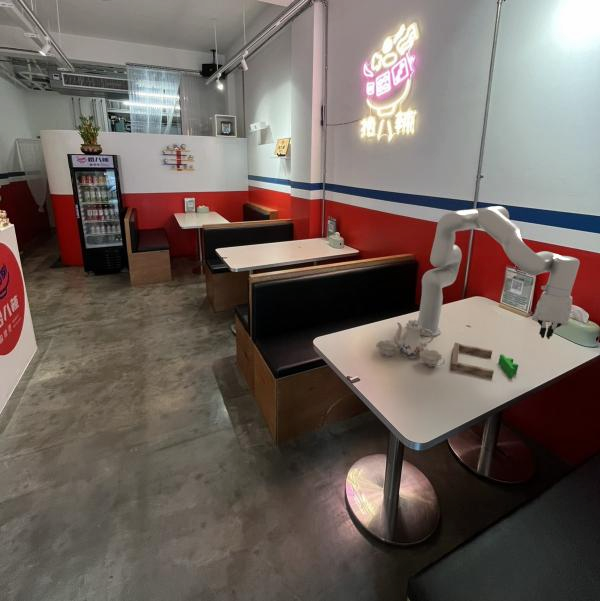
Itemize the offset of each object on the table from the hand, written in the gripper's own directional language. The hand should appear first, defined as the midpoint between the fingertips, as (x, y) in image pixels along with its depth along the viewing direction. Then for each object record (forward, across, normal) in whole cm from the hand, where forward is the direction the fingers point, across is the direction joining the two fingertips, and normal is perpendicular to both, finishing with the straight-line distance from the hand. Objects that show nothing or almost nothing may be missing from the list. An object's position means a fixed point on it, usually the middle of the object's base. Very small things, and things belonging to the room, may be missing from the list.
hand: (544, 336), depth 138 cm
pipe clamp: (+18, -9, 0) cm, 20 cm away
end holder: (+17, -23, 0) cm, 29 cm away
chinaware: (+18, -47, -6) cm, 51 cm away
